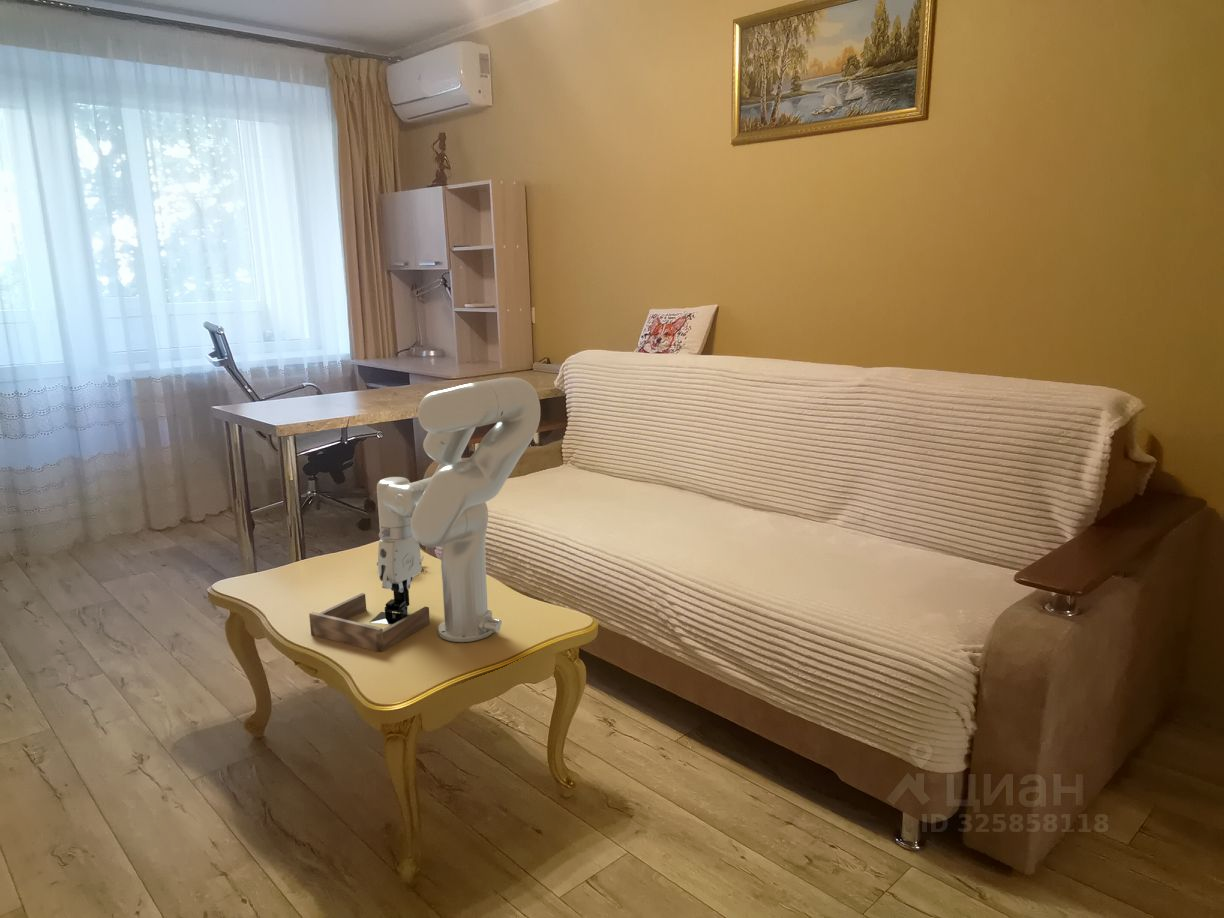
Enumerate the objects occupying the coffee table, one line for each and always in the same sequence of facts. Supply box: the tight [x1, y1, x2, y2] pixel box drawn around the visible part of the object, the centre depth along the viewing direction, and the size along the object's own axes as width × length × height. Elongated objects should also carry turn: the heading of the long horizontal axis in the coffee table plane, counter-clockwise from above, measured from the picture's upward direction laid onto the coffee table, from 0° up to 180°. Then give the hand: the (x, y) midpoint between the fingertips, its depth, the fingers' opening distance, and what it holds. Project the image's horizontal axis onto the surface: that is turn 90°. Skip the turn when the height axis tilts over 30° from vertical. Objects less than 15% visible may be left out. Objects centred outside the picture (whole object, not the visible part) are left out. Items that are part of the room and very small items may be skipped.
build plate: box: [369, 598, 412, 625], centre depth 185 cm, size 12×7×5 cm, turn 79°
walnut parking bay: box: [308, 592, 431, 653], centre depth 179 cm, size 20×16×5 cm
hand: (402, 605), depth 189 cm, fingers closed
